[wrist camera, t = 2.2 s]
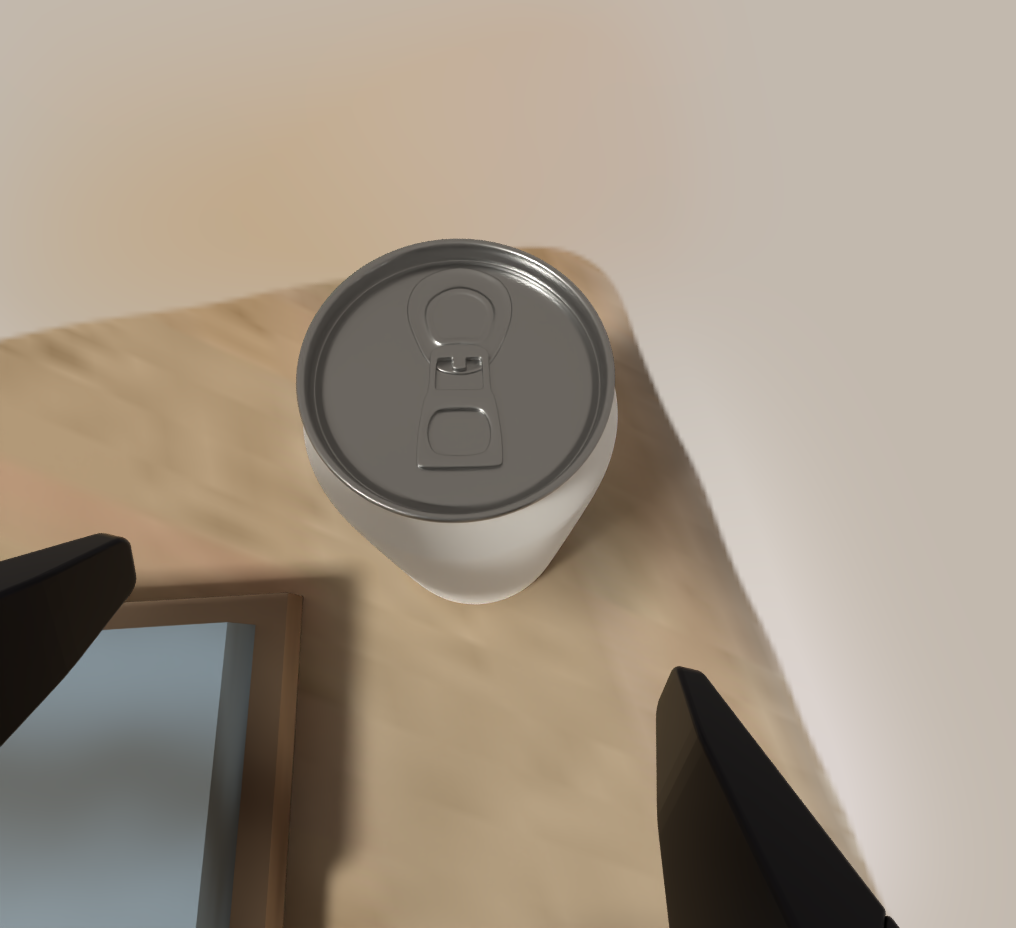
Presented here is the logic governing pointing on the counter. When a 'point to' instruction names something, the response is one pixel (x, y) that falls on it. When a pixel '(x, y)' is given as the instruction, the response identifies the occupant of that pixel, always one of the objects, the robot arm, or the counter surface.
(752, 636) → the counter surface
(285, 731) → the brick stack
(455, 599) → the can
